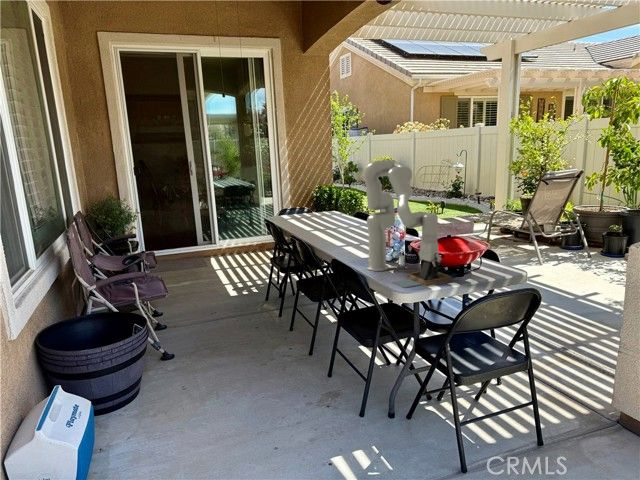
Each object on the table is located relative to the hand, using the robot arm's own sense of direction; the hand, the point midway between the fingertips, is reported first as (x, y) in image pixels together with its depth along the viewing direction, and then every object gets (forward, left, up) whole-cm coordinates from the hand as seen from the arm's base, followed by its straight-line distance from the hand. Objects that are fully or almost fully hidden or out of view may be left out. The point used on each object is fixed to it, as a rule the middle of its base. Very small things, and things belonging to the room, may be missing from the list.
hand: (429, 271), depth 225 cm
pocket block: (0, 0, -5) cm, 5 cm away
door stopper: (0, 0, -5) cm, 5 cm away
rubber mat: (0, -14, -5) cm, 14 cm away
